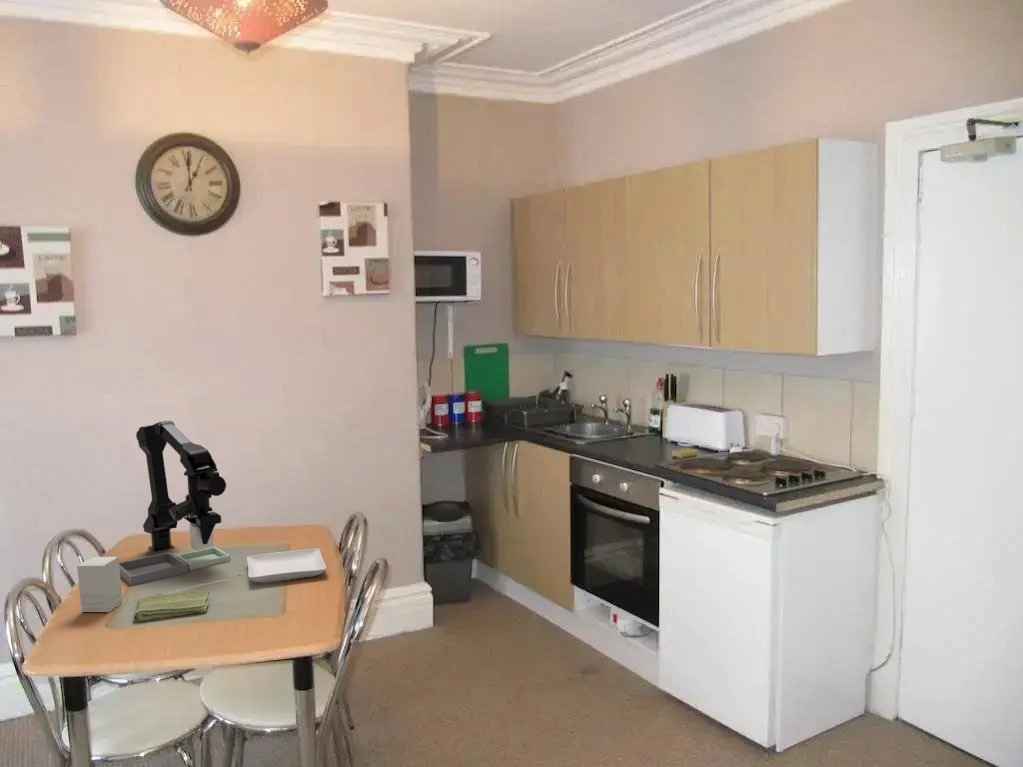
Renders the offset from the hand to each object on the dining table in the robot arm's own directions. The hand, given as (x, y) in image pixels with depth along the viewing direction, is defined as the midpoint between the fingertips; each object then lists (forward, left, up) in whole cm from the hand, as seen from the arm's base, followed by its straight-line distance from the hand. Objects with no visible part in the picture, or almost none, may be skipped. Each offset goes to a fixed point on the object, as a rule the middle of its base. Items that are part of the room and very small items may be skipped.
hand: (201, 542), depth 256 cm
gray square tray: (0, -15, -6) cm, 16 cm away
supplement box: (+19, -33, -6) cm, 39 cm away
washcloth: (+33, -19, -7) cm, 39 cm away
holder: (0, 0, -6) cm, 6 cm away
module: (0, 0, -2) cm, 2 cm away
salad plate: (+25, +15, -7) cm, 30 cm away
